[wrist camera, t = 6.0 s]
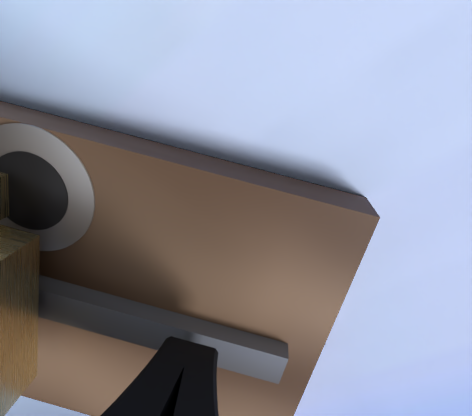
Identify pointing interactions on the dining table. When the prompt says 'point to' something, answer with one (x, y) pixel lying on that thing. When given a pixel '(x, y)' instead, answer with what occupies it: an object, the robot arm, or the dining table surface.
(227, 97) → the dining table surface
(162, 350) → the robot arm
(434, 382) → the dining table surface
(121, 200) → the flat brown board
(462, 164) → the dining table surface
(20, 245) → the block
